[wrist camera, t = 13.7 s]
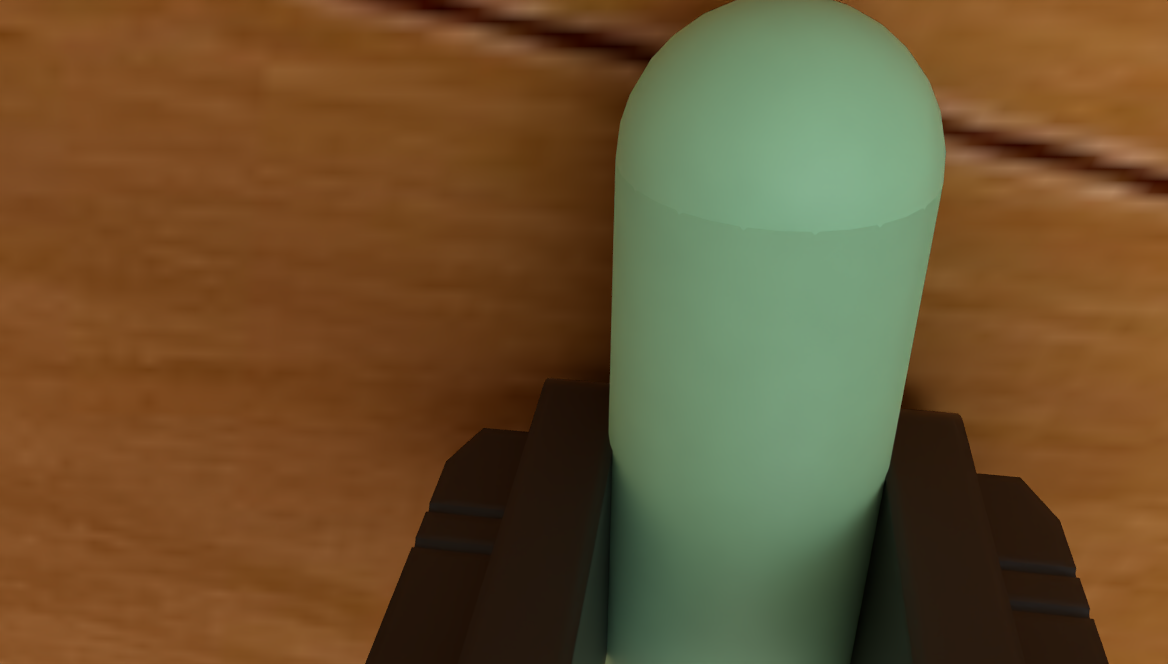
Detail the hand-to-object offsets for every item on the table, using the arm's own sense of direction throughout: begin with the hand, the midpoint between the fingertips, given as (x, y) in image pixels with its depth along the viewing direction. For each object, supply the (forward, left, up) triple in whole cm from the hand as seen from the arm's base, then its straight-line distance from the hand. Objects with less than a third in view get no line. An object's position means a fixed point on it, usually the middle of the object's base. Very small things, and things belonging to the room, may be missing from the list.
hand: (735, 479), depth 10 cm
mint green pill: (0, 0, 0) cm, 0 cm away
